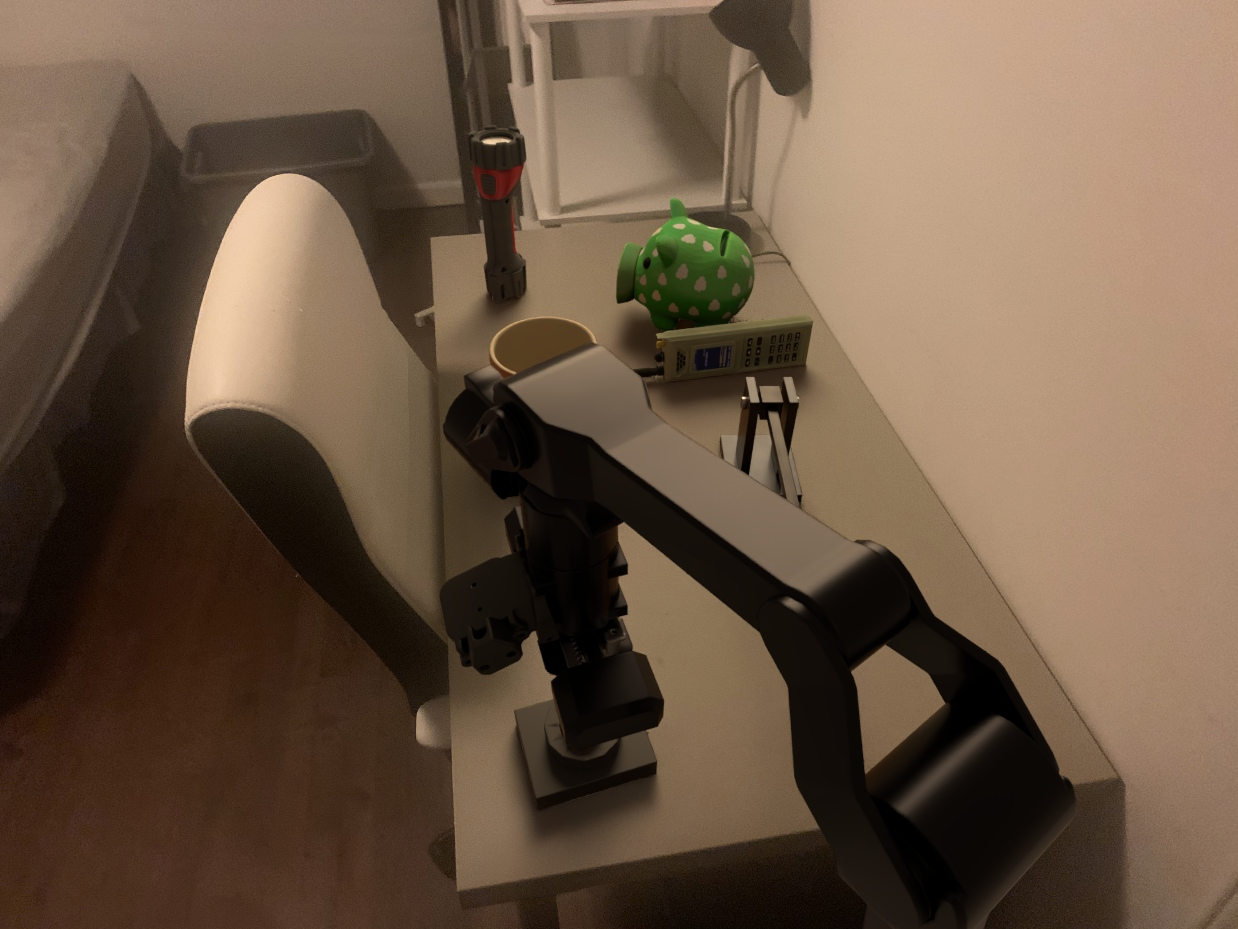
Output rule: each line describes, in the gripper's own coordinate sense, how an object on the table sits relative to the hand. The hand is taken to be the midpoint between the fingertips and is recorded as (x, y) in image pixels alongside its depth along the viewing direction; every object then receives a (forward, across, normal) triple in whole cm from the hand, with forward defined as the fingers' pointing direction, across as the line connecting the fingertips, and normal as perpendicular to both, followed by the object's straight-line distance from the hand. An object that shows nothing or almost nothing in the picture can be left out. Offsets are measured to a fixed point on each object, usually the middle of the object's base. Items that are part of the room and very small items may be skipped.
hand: (580, 676), depth 60 cm
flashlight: (+11, -75, +9) cm, 76 cm away
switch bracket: (+11, -26, +28) cm, 40 cm away
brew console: (+11, 0, 0) cm, 11 cm away
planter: (+11, -43, +7) cm, 45 cm away
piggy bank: (+11, -59, +31) cm, 67 cm away
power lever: (+3, -15, +25) cm, 29 cm away
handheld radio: (+11, -46, +30) cm, 56 cm away
